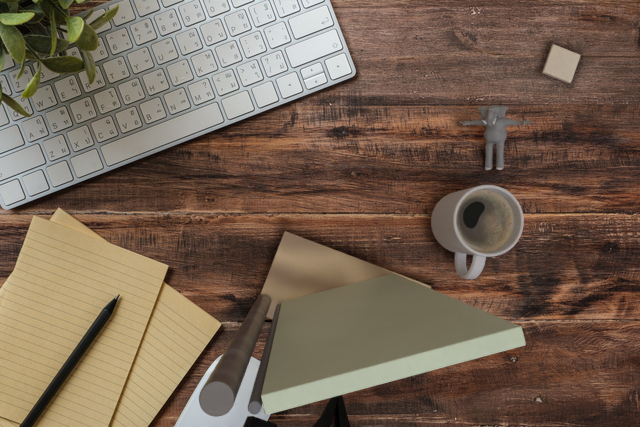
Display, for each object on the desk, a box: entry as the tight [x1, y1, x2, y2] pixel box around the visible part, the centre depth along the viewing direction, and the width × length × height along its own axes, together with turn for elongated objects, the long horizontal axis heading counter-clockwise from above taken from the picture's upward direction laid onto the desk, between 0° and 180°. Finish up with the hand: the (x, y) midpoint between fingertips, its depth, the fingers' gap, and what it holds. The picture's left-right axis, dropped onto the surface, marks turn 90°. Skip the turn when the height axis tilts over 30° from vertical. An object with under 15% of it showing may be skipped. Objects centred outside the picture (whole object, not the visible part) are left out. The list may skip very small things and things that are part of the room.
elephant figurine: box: [458, 104, 534, 171], centre depth 67 cm, size 10×6×9 cm
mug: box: [430, 184, 525, 280], centre depth 64 cm, size 11×10×10 cm
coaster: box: [541, 43, 582, 84], centre depth 70 cm, size 4×4×1 cm
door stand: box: [198, 230, 432, 418], centre depth 47 cm, size 12×22×40 cm, turn 69°
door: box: [247, 273, 527, 416], centre depth 47 cm, size 2×17×38 cm, turn 104°
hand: (337, 393), depth 57 cm, fingers closed
